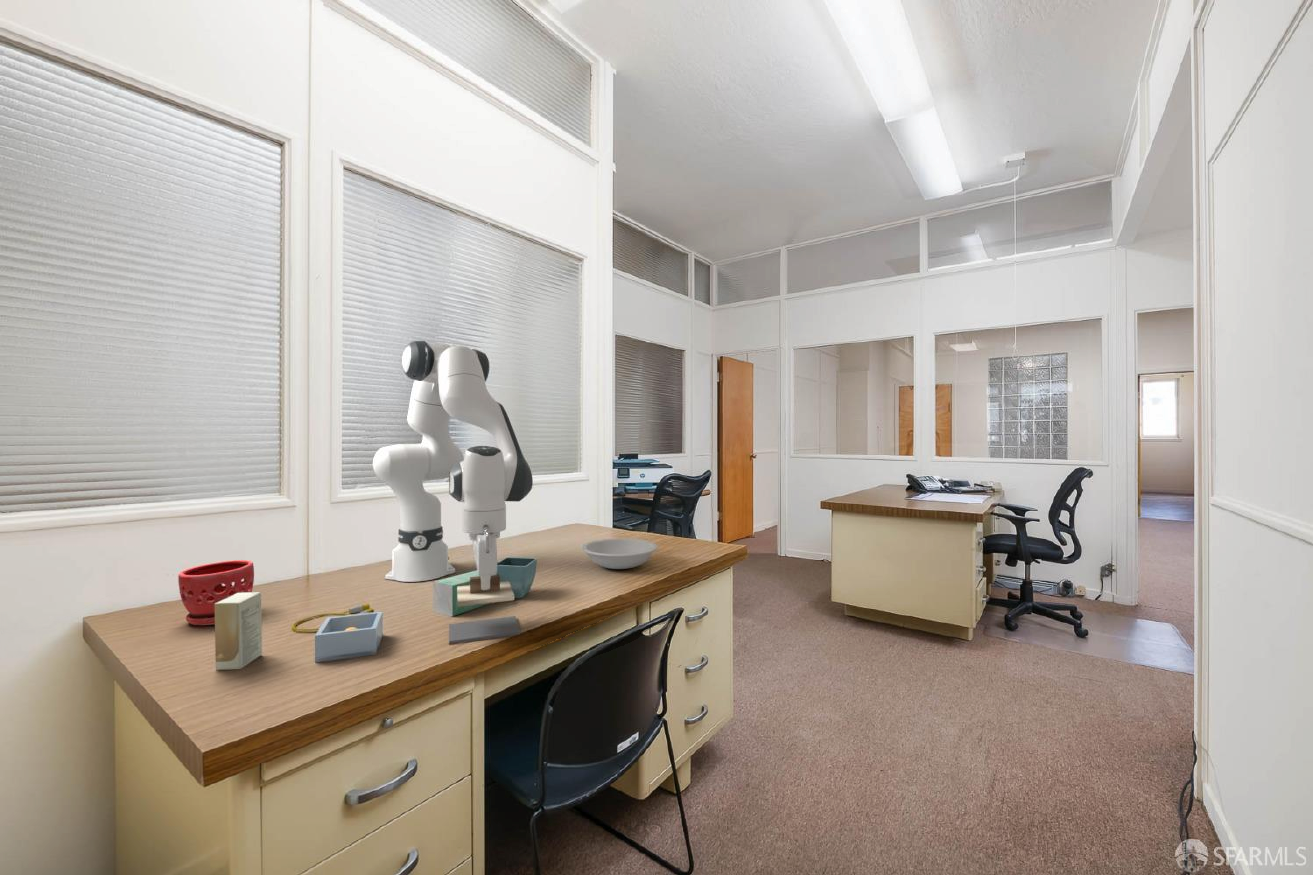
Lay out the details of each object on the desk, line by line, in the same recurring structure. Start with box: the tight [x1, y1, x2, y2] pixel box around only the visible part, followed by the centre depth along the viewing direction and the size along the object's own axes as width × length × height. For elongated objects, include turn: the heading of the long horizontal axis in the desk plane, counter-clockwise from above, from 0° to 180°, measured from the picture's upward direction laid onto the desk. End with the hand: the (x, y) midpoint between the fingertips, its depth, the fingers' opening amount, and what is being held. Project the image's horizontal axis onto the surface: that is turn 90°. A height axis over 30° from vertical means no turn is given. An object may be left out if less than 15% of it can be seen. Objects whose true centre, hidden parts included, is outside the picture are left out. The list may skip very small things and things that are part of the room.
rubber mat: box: [448, 615, 522, 645], centre depth 112 cm, size 10×14×1 cm
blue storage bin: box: [314, 611, 384, 663], centre depth 103 cm, size 10×10×5 cm
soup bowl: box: [581, 537, 659, 570], centre depth 165 cm, size 24×24×7 cm
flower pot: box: [497, 556, 538, 599], centre depth 135 cm, size 9×9×9 cm
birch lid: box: [457, 574, 515, 607], centre depth 112 cm, size 11×11×4 cm
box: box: [432, 569, 491, 618], centre depth 127 cm, size 7×14×8 cm, turn 149°
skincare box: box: [214, 591, 263, 671], centre depth 96 cm, size 6×4×12 cm
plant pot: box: [177, 559, 255, 626], centre depth 118 cm, size 13×13×12 cm
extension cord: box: [291, 603, 375, 634], centre depth 117 cm, size 12×16×2 cm
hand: (484, 586), depth 112 cm, fingers closed on birch lid, 2 cm apart
